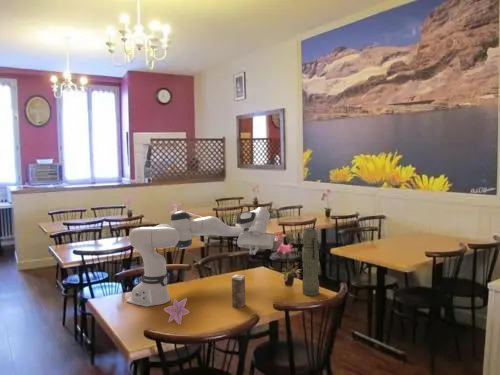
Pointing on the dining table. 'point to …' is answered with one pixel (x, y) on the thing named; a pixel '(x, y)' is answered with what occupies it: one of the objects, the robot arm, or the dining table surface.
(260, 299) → the dining table surface
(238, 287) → the grey rectangular block
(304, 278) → the thermos
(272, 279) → the dining table surface
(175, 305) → the lily
